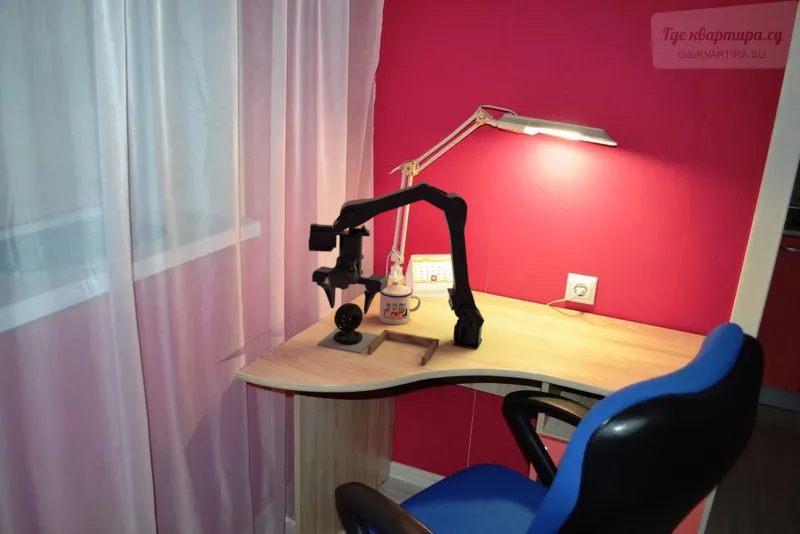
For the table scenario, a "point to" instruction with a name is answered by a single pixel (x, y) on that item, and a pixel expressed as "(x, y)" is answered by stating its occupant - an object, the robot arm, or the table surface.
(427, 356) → the holder
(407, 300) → the teacup with lid
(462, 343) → the robot arm
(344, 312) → the webcam
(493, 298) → the table surface
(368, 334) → the mat
